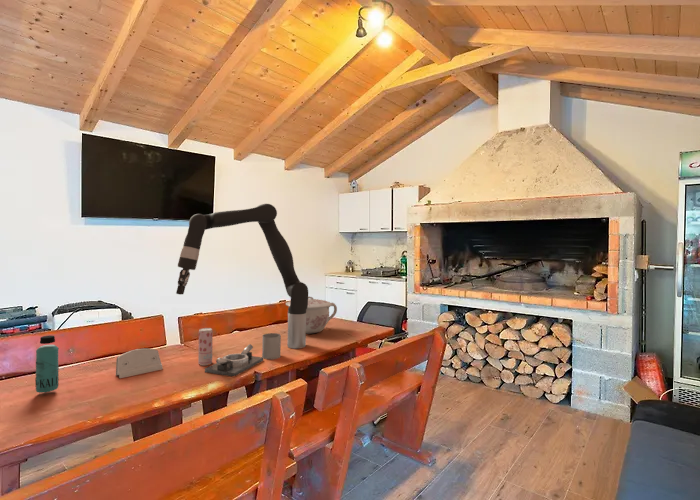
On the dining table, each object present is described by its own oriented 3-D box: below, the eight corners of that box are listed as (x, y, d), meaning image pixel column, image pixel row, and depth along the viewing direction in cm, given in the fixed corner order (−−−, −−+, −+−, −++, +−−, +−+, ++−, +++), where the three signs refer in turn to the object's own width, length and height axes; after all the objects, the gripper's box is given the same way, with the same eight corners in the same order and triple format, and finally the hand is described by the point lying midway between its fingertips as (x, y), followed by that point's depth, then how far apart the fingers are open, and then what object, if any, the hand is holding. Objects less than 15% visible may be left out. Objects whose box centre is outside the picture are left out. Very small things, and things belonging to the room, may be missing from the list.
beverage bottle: (43, 389, 140) (43, 333, 139) (63, 389, 140) (63, 333, 140) (30, 397, 133) (30, 338, 132) (51, 397, 134) (51, 338, 133)
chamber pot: (276, 334, 226) (277, 298, 225) (296, 324, 252) (297, 292, 252) (322, 339, 218) (323, 301, 217) (338, 328, 244) (339, 295, 243)
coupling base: (237, 356, 183) (237, 342, 183) (264, 360, 178) (264, 345, 178) (203, 372, 161) (203, 356, 160) (232, 377, 156) (233, 360, 156)
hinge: (118, 378, 152) (116, 352, 154) (115, 379, 155) (112, 353, 157) (163, 368, 164) (160, 344, 166) (159, 370, 167) (156, 346, 169)
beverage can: (204, 366, 168) (204, 331, 168) (195, 364, 171) (195, 329, 171) (215, 363, 173) (215, 329, 172) (206, 360, 176) (206, 327, 176)
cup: (283, 355, 186) (284, 334, 186) (273, 360, 179) (273, 338, 178) (269, 353, 190) (269, 332, 189) (258, 357, 182) (258, 336, 182)
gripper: (196, 258, 169) (187, 296, 167) (198, 261, 183) (190, 295, 180) (178, 254, 167) (168, 292, 165) (181, 257, 181) (172, 292, 178)
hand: (179, 294), depth 172 cm, fingers open, 8 cm apart
